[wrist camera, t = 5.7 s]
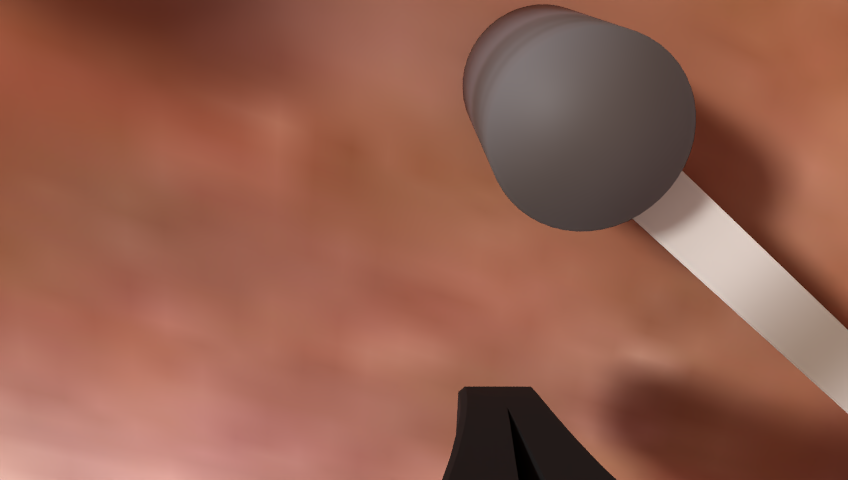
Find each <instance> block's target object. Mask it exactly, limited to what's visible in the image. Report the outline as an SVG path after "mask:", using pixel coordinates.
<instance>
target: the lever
mask: <svg viewBox="0 0 848 480" xmlns="http://www.w3.org/2000/svg"><path fill="white" fill-rule="evenodd" d="M463 97H464V102H465V107H466V110H467V113H468V115H469V118H470V120H471V122H472V124H473V127H474V129H475V131H476V134H477V136H478V138H479V140H480V143H481V145H482V147H483V150H484V152H485V154H486V156H487V159H488V161H489V163H490V166H491V168H492V170H493V172H494V175H495V177H496V179H497V181H498V183H499V185H500V186H501V188H502V190H503V191H504V193H505V194H506V195H507V197H508V198H509V199H510V201H511V202H512V203H513V204H515V205H516V206H517V207H518V208H519V209H520V210H521V211H522V212H524V213H525V214H526V215H528V216H529V217H531V218H533V219H535V220H536V221H538V222H540V223H543V224H545V225H548V226H550V227H554V228H558V229H562V230H569V231H594V230H601V229H605V228H609V227H613V226H616V225H619V224H621V223H624V222H627V221H629V220H631V219H633V220H634V221H636V222H637V223H638V224H639V225H640V226H641V227H642V228H643V229H644V230H645V231H647V232H648V233H649V234H650V235H651V236H652V237H653V238H654V239H655V240H657V241H658V242H659V243H660V244H661V245H662V246H663V247H664V248H665V249H666V250H668V251H669V252H670V253H671V254H672V255H673V256H674V257H675V258H676V259H678V260H679V261H680V262H681V263H682V264H683V265H684V266H685V267H686V268H687V269H689V270H690V271H691V272H692V273H693V274H694V275H695V276H696V277H697V278H699V279H700V280H701V281H702V282H703V283H704V284H705V285H706V286H707V287H708V288H710V289H711V290H712V291H713V292H714V293H715V294H716V295H717V296H718V297H720V298H721V299H722V300H723V301H724V302H725V303H726V304H727V305H728V306H729V307H731V308H732V309H733V310H734V311H735V312H736V313H737V314H738V315H739V316H741V317H742V318H743V319H744V320H745V321H746V322H747V323H748V324H749V325H750V326H752V327H753V328H754V329H755V330H756V331H757V332H758V333H759V334H760V335H762V336H763V337H764V338H765V339H766V340H767V341H768V342H769V343H770V344H771V345H773V346H774V347H775V348H776V349H777V350H778V351H779V352H780V353H781V354H783V355H784V356H785V357H786V358H787V359H788V360H789V361H790V362H791V363H792V364H794V365H795V366H796V367H797V368H798V369H799V370H800V371H801V372H802V373H804V374H805V375H806V376H807V377H808V378H809V379H810V380H811V381H812V382H813V383H815V384H816V385H817V386H818V387H819V388H820V389H821V390H822V391H823V392H825V393H826V394H827V395H828V396H829V397H830V398H831V399H832V400H833V401H834V402H836V403H837V404H838V405H839V406H840V407H841V408H842V409H843V410H844V411H846V412H847V413H848V330H847V329H846V328H845V327H844V326H843V325H842V324H841V323H840V322H839V321H838V320H837V319H836V318H835V317H834V316H833V315H832V314H831V313H830V312H829V311H828V310H827V309H825V308H824V307H823V306H822V305H821V304H820V303H819V302H818V301H817V300H816V299H815V298H814V297H813V296H812V295H811V294H810V293H809V292H808V291H807V290H806V289H805V288H804V287H803V286H802V285H800V284H799V283H798V282H797V281H796V280H795V279H794V278H793V277H792V276H791V275H790V274H789V273H788V272H787V271H786V270H785V269H784V268H783V267H782V266H781V265H780V264H779V263H778V262H777V261H776V260H774V259H773V258H772V257H771V256H770V255H769V254H768V253H767V252H766V251H765V250H764V249H763V248H762V247H761V246H760V245H759V244H758V243H757V242H756V241H755V240H754V239H753V238H752V237H751V236H750V235H748V234H747V233H746V232H745V231H744V230H743V229H742V228H741V227H740V226H739V225H738V224H737V223H736V222H735V221H734V220H733V219H732V218H731V217H730V216H729V215H728V214H727V213H726V212H725V211H724V210H722V209H721V208H720V207H719V206H718V205H717V204H716V203H715V202H714V201H713V200H712V199H711V198H710V197H709V196H708V195H707V194H706V193H705V192H704V191H703V190H702V189H701V188H700V187H699V186H697V185H696V184H695V183H694V182H693V181H692V180H691V179H690V178H689V177H688V176H687V175H686V174H685V173H684V172H683V171H682V170H683V168H684V166H685V164H686V161H687V159H688V157H689V154H690V151H691V148H692V144H693V141H694V134H695V128H696V110H695V102H694V97H693V93H692V89H691V86H690V84H689V81H688V79H687V77H686V74H685V73H684V71H683V69H682V68H681V66H680V65H679V63H678V62H677V61H676V60H675V58H674V57H673V56H672V55H671V54H670V53H669V52H668V51H667V50H666V49H665V48H664V47H663V46H661V45H660V44H659V43H657V42H656V41H654V40H653V39H651V38H650V37H648V36H645V35H643V34H641V33H639V32H637V31H634V30H631V29H628V28H625V27H621V26H618V25H615V24H612V23H609V22H606V21H603V20H600V19H597V18H594V17H591V16H588V15H585V14H582V13H579V12H576V11H573V10H570V9H567V8H564V7H560V6H555V5H532V6H526V7H523V8H519V9H516V10H514V11H512V12H509V13H507V14H505V15H504V16H502V17H500V18H499V19H498V20H496V21H495V22H494V23H492V24H491V25H490V26H489V27H488V28H487V29H486V30H485V31H484V32H483V33H482V35H481V36H480V37H479V38H478V40H477V41H476V43H475V45H474V46H473V48H472V50H471V52H470V54H469V57H468V59H467V62H466V66H465V69H464V76H463Z"/></svg>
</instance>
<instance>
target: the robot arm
mask: <svg viewBox="0 0 848 480" xmlns="http://www.w3.org/2000/svg"><path fill="white" fill-rule="evenodd" d="M442 480H616V479H615V478H614V477H613V476H612V475H611V474H610V473H609V472H608V471H606V470H605V469H604V468H603V467H602V466H601V465H600V464H599V463H598V462H597V461H596V459H595V458H594V457H593V456H592V455H591V454H590V453H589V452H588V451H587V450H586V449H585V448H584V447H583V446H582V445H581V444H580V443H579V442H578V440H577V439H576V438H575V437H574V436H573V435H572V434H571V433H570V432H569V430H568V429H567V428H566V427H565V426H564V425H563V424H562V422H561V421H560V420H559V419H558V418H557V417H556V415H555V414H554V413H553V412H552V411H551V410H550V408H549V407H548V406H547V405H546V404H545V402H544V401H543V400H542V399H541V398H540V396H539V395H538V394H537V393H536V392H535V391H534V390H533V389H532V388H531V387H464V388H463V389H462V390H460V391H459V392H458V410H457V429H456V437H455V441H454V445H453V449H452V453H451V456H450V459H449V462H448V465H447V468H446V471H445V473H444V476H443V479H442Z"/></svg>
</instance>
